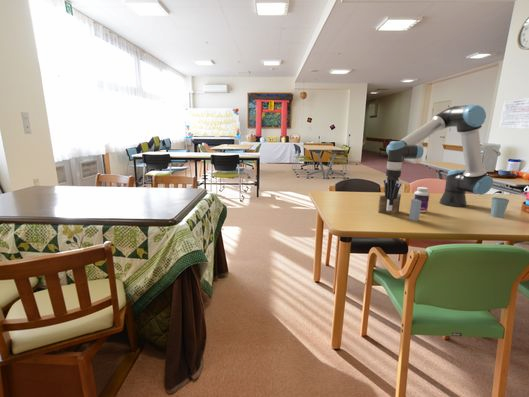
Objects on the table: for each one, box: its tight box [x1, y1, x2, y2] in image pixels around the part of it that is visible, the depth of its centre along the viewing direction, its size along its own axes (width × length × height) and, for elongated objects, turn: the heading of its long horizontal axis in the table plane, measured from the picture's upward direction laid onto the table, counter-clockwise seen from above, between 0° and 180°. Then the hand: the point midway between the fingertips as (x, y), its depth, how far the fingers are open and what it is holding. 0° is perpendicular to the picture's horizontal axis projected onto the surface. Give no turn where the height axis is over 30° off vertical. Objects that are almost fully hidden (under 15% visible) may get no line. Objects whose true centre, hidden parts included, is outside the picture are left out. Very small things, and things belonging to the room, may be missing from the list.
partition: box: [398, 192, 422, 222], centre depth 166 cm, size 3×20×11 cm, turn 10°
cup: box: [490, 196, 510, 219], centre depth 168 cm, size 8×8×10 cm
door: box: [377, 194, 402, 213], centre depth 172 cm, size 2×12×10 cm, turn 95°
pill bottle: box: [413, 186, 430, 214], centre depth 175 cm, size 8×8×14 cm
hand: (388, 210), depth 168 cm, fingers closed
